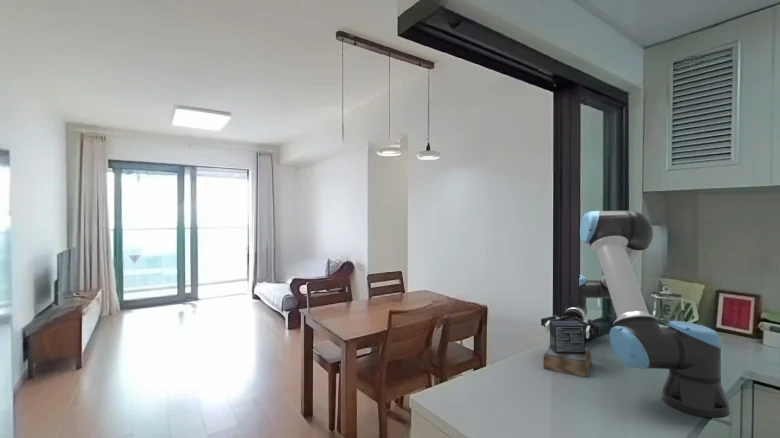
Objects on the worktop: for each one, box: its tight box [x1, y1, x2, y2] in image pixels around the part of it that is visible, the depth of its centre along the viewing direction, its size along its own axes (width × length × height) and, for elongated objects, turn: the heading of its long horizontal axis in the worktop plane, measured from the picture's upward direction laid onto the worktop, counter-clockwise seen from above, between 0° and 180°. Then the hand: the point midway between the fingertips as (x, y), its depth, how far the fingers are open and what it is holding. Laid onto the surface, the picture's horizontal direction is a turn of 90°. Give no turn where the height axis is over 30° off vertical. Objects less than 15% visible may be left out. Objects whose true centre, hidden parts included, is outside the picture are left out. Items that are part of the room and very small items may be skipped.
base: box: [543, 345, 592, 378], centre depth 135 cm, size 14×14×6 cm
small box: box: [549, 321, 586, 354], centre depth 135 cm, size 11×6×10 cm, turn 84°
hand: (566, 331), depth 133 cm, fingers open, 13 cm apart
